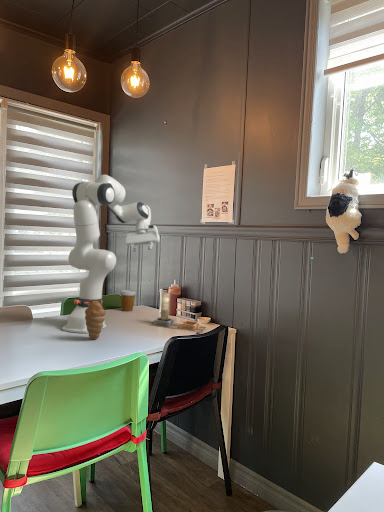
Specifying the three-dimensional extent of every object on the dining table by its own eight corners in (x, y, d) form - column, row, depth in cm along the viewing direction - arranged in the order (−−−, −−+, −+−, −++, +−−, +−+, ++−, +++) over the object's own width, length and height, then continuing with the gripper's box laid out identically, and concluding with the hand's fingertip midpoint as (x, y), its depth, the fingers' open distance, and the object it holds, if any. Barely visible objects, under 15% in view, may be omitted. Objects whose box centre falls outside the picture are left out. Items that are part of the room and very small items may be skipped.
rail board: (199, 334, 189) (199, 327, 188) (147, 327, 197) (147, 320, 197) (205, 329, 200) (206, 322, 200) (156, 322, 208) (156, 315, 208)
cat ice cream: (83, 342, 166) (85, 301, 165) (83, 336, 173) (85, 297, 172) (104, 341, 168) (106, 301, 167) (103, 336, 176) (105, 297, 175)
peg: (166, 325, 198) (168, 295, 197) (159, 324, 199) (160, 294, 198) (169, 324, 202) (170, 294, 201) (162, 323, 203) (163, 293, 202)
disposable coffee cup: (130, 308, 241) (130, 289, 240) (138, 311, 234) (139, 291, 233) (116, 309, 235) (117, 290, 234) (124, 312, 228) (125, 292, 227)
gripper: (124, 229, 226) (122, 249, 219) (158, 225, 222) (157, 245, 216) (128, 234, 231) (126, 254, 225) (160, 230, 228) (160, 251, 221)
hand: (141, 250), depth 220 cm, fingers open, 8 cm apart
